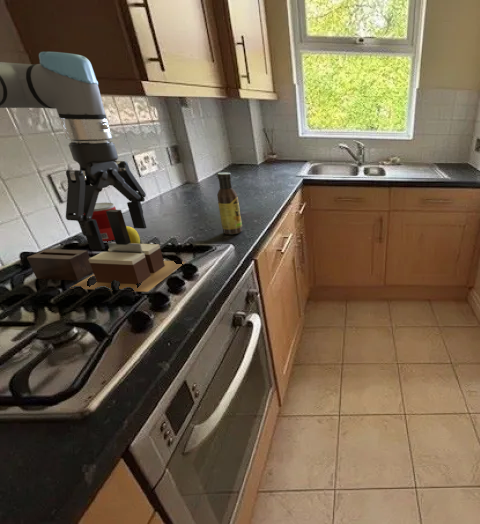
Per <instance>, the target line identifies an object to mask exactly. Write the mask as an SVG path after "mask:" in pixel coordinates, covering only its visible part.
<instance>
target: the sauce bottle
mask: <svg viewBox="0 0 480 524" xmlns="http://www.w3.org/2000/svg"><path fill="white" fill-rule="evenodd" d="M216 176H217V179H218V184H219V189H218V191H217V195H216V197H217V204H218V210H219V216H220V223H221V228H222V232H223V234H225V235H231V236H232V235H237V234H240V233H242V231H243V222H242V217H241V209H240V204H239V196H238V193H237V192H236V190H235V189H234V188H233V184H232V173H231V172H226V171H225V172H217V173H216Z"/></svg>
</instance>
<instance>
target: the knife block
mask: <svg viewBox="0 0 480 524" xmlns="http://www.w3.org/2000/svg"><path fill="white" fill-rule="evenodd" d="M90 258H91V257H90V253H89V252H88V250H83V249H82V250H80V249H61V248H60V249H59V248H58V249H56V248H45V249H43V250H40V251H39V252H37V253H34V254H32V255H29V256H27V257H26V259H27V261H28V263H29V265H30V268H31V270H32V272H33V274H34V276H35V279H37V280H54V281H56V280H57V281H76V282H78V281H80V280H83V278H84V279H85V277H88V276H89V275H91V274H93V270H92V267H91V265H90V262H89V259H90Z"/></svg>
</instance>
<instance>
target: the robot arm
mask: <svg viewBox="0 0 480 524" xmlns="http://www.w3.org/2000/svg"><path fill="white" fill-rule="evenodd" d="M38 59H39V63H36V64H35V63H34V64H31V63H30V64H29V63H19V62H18V63H15V62H4V61H0V109H24V108H25V109H54V110H56V112H57V115H58V118H59V121H60V124H61V127H62V131H63V133H64V136H65V139H66V140H67V141H70V142H69V143H68V148H69V150H70V153H71V156H72V160H73V161H74V162H75V163H77V164H78V165H79V169H67V170H65V176H66V179H67V193H66V204H65V205H66V207H65V219H66V220H67V221H74V222H75V221H76V222H77V223H78V225H79V227H80V230H81V233H82V235H83V236H84V237H85V238H86V241H87V244H88V247H89V250H100V251H101V250H105V249H106V246H105V244H104V243H103V240H102V237H101V234H100V231H99V228H98V225H97V222H96V219H91V218H92V215H93V212H94V208H95V205H96V203H97V201H98V198H99V194H100V193H101V192H102V191H103V189H106V188H108V187H110V186H111V187H113V188H114V189H115V190H116V191H118V192H119V193H120V194H121V195H123V197H125V199H127V200H128V202H126V205H127V208H128V212H129V216H130V219H131V222H132V225H133V228H134V229H141V230H142V229H143V230H145V229H147V224H146V220H145V216H144V210H143V206H142V203H144V202H145V201H146V199H145V198H146V196H147V194H146V192H145V190H144V189H143V188H142V186H141V185H140V183H139V181H138V180H137V179H136V177H135V176H134V174H133V172H132V171H131V170H130V166H129V164H128V161H127V160H126V161H125V160H118V159H119V155H118V151H117V149H116V144H115V143H114V142H113V141H110V140H112V139H113V134H112V131H111V129H110V125H109V121H108V116H107V114H106V111H105V106H104V102H103V99H102V96H101V95H102V94H101V92H100V87H99V81H98V80H97V77H96V73H95V71H94V68H93V65H92V63H91V61H90V60H89V59H88V58H87V56H84V55H81V54H76V53H69V52H61V51H40V52H39V53H38ZM84 213H85V215H83V214H84Z"/></svg>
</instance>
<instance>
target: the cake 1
mask: <svg viewBox="0 0 480 524" xmlns="http://www.w3.org/2000/svg"><path fill="white" fill-rule="evenodd" d="M89 262H90V265H91V267H92V270H93V272H92V274H94V276H95V278H96V281H97V282H100V283H111V282H112V281H113V280H116V281H119V282H120V283H121V284H137V283H138V284H139V283H141V282H143V281H144V280H146V279H147V278H148V277H150V276H151V275H150V271H149V268H148V265H147V261H146V258H145V254H144V253H122V252H109V251H101V252H99V253H98V254H96V255H93V256H92V257H90V259H89Z"/></svg>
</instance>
